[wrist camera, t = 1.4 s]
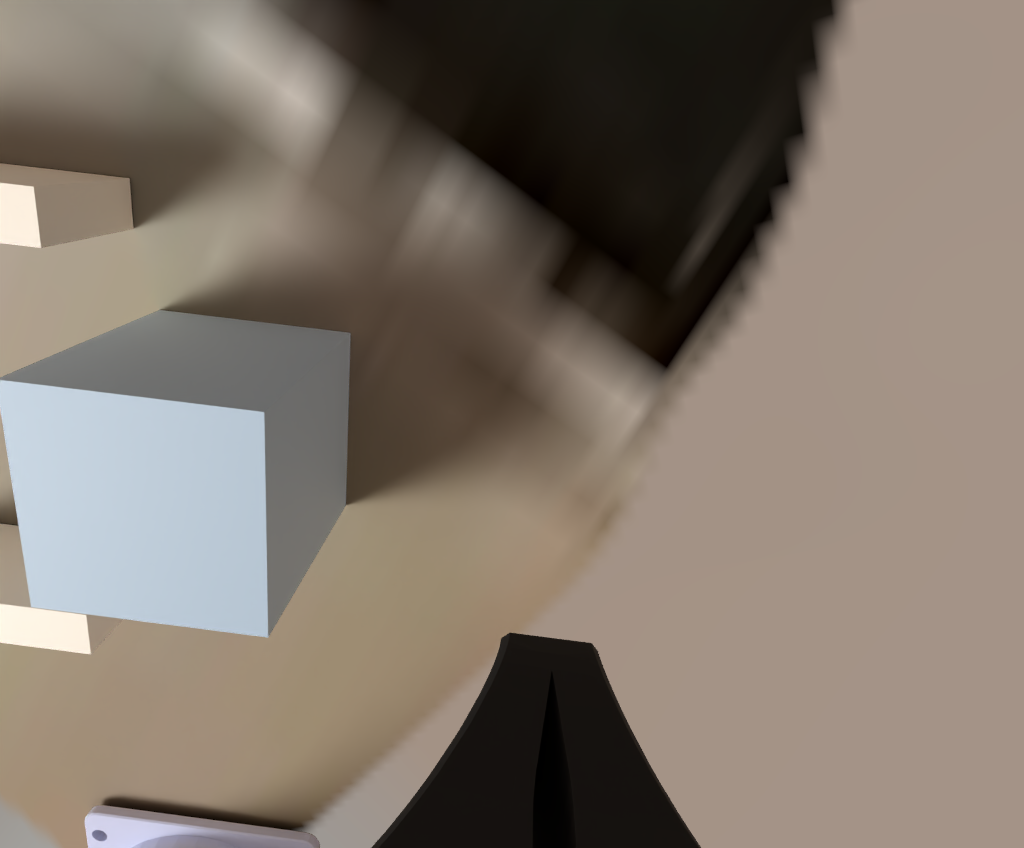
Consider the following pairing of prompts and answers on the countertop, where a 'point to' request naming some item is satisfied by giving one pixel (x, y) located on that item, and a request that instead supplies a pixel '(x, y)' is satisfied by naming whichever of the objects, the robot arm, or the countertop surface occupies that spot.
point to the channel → (41, 223)
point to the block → (179, 468)
